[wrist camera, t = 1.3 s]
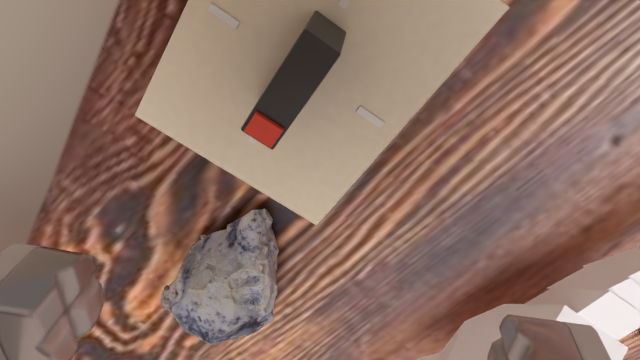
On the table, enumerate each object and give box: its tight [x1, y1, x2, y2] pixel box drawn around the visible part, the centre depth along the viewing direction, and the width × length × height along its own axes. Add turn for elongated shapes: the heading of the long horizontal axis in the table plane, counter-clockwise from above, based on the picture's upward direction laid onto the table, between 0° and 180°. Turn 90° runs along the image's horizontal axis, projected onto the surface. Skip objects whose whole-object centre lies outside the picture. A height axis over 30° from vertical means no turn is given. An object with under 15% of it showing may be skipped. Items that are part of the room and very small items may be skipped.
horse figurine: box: [417, 245, 640, 360], centre depth 27 cm, size 5×16×25 cm
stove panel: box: [135, 0, 509, 225], centre depth 21 cm, size 14×11×3 cm
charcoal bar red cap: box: [241, 11, 346, 150], centre depth 19 cm, size 5×2×3 cm, turn 146°
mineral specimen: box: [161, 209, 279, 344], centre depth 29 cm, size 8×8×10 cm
